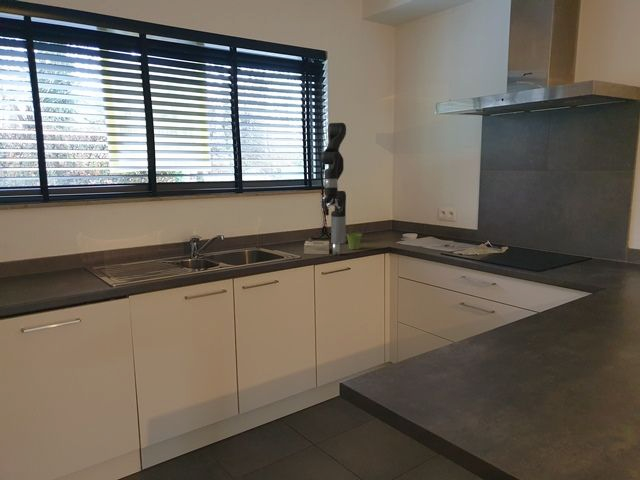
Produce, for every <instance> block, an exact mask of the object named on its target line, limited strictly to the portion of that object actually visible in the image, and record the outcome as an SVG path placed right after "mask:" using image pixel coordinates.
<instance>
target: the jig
mask: <svg viewBox="0 0 640 480" xmlns="http://www.w3.org/2000/svg"><path fill="white" fill-rule="evenodd" d="M303 255H330V240H313V238H312V237H308V240H305V242H304V245H303Z"/></svg>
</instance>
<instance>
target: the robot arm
mask: <svg viewBox="0 0 640 480" xmlns="http://www.w3.org/2000/svg"><path fill="white" fill-rule="evenodd" d="M346 135H347V126H346V124H345V123H344V122H329V124H328V125H327V139H328V144H327V146H326V148H325V149H324V150H323V151H322V153H321V157H320V161H321V163H322V164H323V165H326V166H327V165H328V168H326V169H324V196H325V197H321V208H322V209H324V216H326V217H327V216H329V214H330V228H331V229H330V231H331V232H330V233H331V236H330V237H331V238H330V239H331V242H330V243H331V244H335V243H338V244H340V245H341V244H346V241H347V240H346V237H347V236H346V235H347V231H346V230H347V229H346V227H347V226H346V221H347V218H346V217H347V216H346V205H347V204H346V203H347V193H346V191H345V190H338V189H339V186H338V180H339V179H340V177H341V176H342V174H343V172H344V163H345V161H344V158H343V155H342V153H341V152H340V146H341V145H342V142H343V141H344V139H345V137H346ZM330 206H333V208H334V210H333V211H331V212H330V209H329V208H330Z"/></svg>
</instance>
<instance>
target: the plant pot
mask: <svg viewBox="0 0 640 480" xmlns="http://www.w3.org/2000/svg"><path fill="white" fill-rule="evenodd" d="M362 236H363V234H362V233H346V237H347V241H348V249H349V250H351V249H353V250H355V249H357V250H360V249H361V248H360V247H361V241H362V239H361V238H362Z"/></svg>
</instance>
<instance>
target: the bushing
mask: <svg viewBox="0 0 640 480" xmlns="http://www.w3.org/2000/svg"><path fill="white" fill-rule="evenodd" d="M340 246H341V244H338V243H335V244H334V243H332V256H340V253H341V250H340V249H341V247H340Z"/></svg>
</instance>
